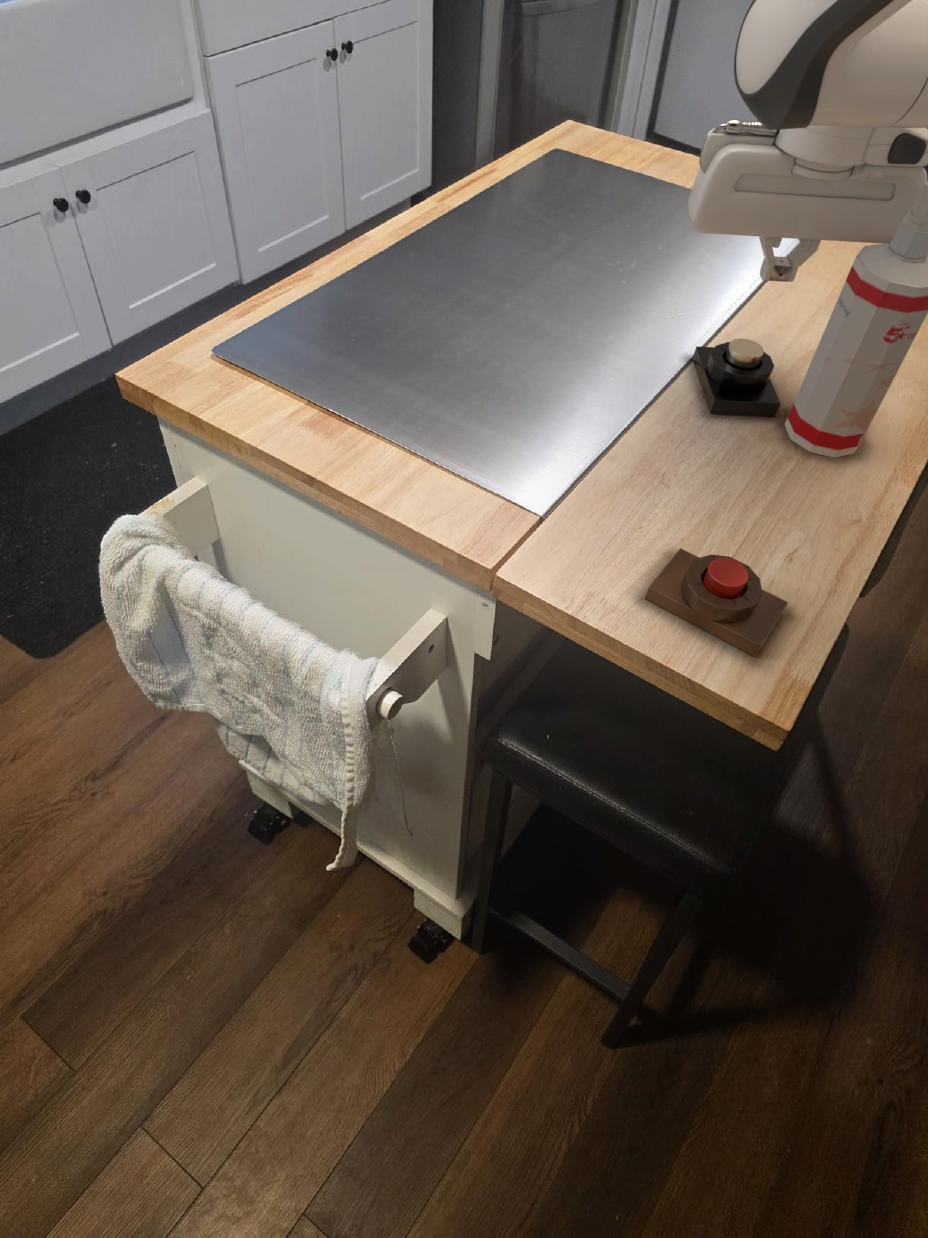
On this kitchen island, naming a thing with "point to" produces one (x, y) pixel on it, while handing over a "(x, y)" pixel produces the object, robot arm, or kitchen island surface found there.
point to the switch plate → (735, 384)
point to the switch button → (744, 354)
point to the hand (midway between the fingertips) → (775, 278)
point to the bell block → (716, 602)
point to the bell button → (725, 578)
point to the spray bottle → (864, 340)
